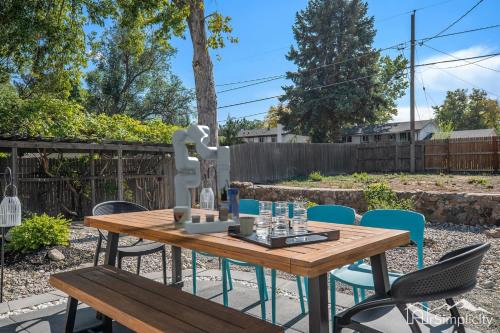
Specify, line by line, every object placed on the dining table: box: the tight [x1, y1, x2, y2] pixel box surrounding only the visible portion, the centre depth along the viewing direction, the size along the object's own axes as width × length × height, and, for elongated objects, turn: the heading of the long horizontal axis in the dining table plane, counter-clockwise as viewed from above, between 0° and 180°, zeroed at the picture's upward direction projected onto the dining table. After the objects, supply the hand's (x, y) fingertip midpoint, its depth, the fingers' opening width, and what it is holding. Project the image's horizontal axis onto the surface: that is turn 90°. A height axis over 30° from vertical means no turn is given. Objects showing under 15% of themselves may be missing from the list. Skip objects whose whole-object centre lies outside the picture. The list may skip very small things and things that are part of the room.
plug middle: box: [205, 214, 215, 222], centre depth 215 cm, size 4×4×8 cm
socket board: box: [184, 219, 237, 235], centre depth 215 cm, size 12×26×5 cm, turn 112°
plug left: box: [191, 214, 201, 223], centre depth 212 cm, size 4×4×8 cm
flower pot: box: [238, 216, 257, 236], centre depth 202 cm, size 9×9×9 cm
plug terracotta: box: [218, 206, 228, 221], centre depth 218 cm, size 4×4×8 cm
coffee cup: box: [172, 206, 189, 229], centre depth 228 cm, size 9×9×12 cm
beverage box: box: [218, 187, 240, 225], centre depth 240 cm, size 7×11×22 cm, turn 52°
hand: (224, 200), depth 217 cm, fingers closed
